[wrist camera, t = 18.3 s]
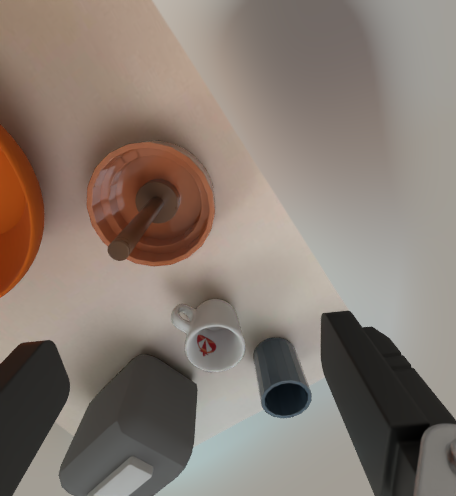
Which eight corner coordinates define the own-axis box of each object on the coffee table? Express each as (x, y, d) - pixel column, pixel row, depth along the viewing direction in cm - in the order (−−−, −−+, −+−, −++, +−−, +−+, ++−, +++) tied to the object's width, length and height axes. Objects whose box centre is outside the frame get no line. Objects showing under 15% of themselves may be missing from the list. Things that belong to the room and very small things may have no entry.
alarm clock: (140, 428, 55) (112, 535, 40) (86, 398, 51) (36, 503, 37) (198, 376, 51) (191, 474, 36) (144, 340, 47) (113, 432, 33)
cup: (163, 313, 46) (154, 348, 38) (190, 273, 43) (185, 303, 36) (222, 342, 48) (224, 381, 41) (250, 307, 46) (257, 341, 39)
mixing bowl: (207, 134, 37) (206, 135, 31) (219, 242, 42) (220, 259, 36) (92, 147, 37) (70, 150, 31) (119, 253, 42) (104, 271, 36)
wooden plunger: (176, 176, 38) (146, 213, 21) (183, 216, 40) (160, 278, 23) (135, 181, 38) (73, 221, 21) (144, 220, 40) (92, 285, 23)
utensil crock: (294, 335, 48) (311, 378, 40) (295, 368, 51) (311, 415, 43) (252, 339, 48) (259, 383, 40) (254, 372, 51) (262, 420, 42)
